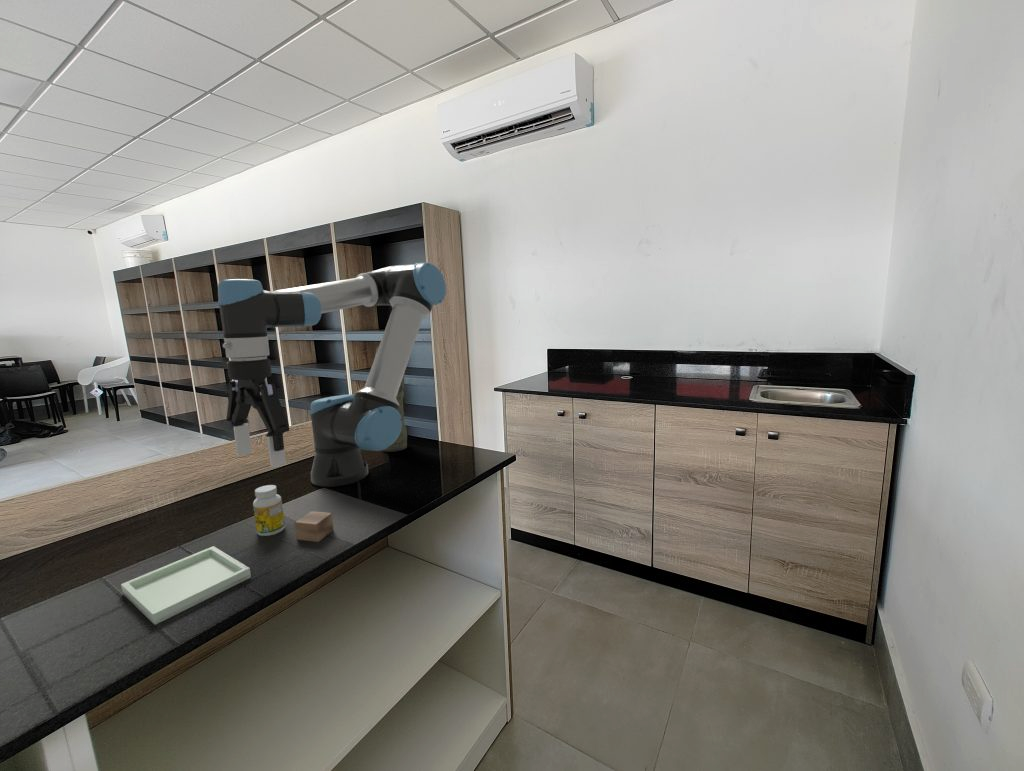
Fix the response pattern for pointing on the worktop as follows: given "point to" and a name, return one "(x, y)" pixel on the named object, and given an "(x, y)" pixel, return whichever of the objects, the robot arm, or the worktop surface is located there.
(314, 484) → the robot arm
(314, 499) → the worktop surface
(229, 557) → the tray
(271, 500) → the supplement bottle
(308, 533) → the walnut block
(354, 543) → the worktop surface
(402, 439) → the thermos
